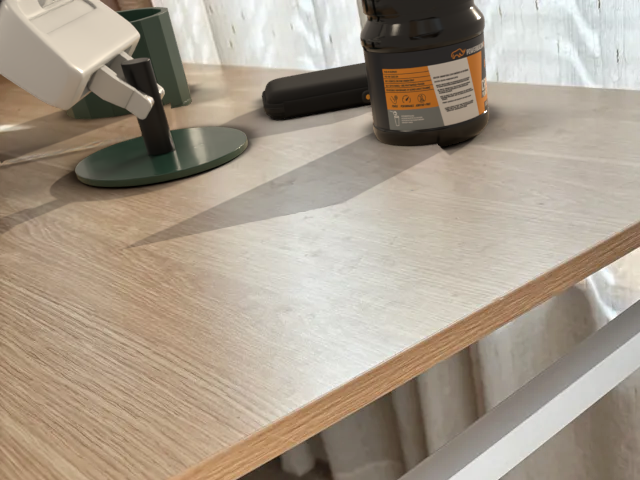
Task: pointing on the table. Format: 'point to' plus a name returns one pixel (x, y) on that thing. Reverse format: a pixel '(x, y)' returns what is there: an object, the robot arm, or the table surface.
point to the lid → (158, 144)
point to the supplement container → (425, 70)
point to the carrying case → (316, 92)
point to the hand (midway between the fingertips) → (155, 106)
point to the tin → (164, 59)
